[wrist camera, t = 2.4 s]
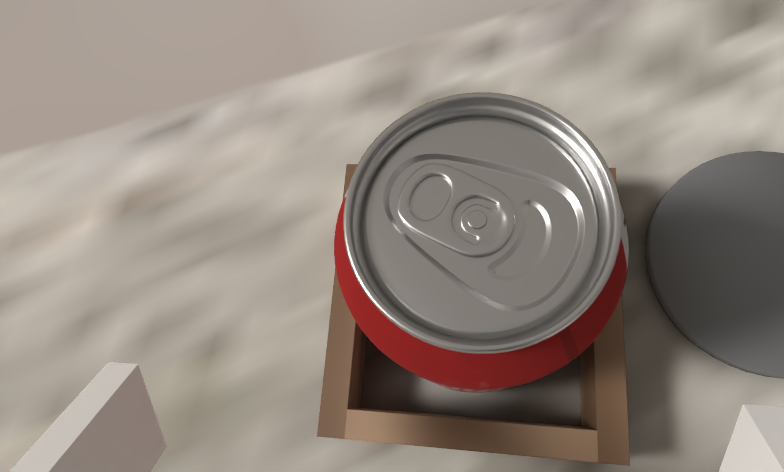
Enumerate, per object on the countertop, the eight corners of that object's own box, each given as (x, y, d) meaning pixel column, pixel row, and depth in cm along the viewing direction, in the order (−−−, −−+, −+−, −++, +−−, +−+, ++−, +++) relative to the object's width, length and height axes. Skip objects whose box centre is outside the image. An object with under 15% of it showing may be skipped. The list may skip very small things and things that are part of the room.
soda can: (508, 426, 20) (564, 463, 9) (361, 340, 22) (251, 280, 11) (582, 275, 22) (713, 141, 10) (438, 205, 23) (412, 24, 12)
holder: (599, 192, 22) (615, 168, 20) (610, 457, 20) (630, 465, 17) (358, 187, 24) (346, 164, 22) (333, 431, 21) (317, 436, 19)
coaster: (872, 158, 21) (883, 152, 21) (918, 387, 19) (932, 387, 18) (639, 156, 23) (643, 150, 22) (652, 369, 20) (658, 368, 20)
